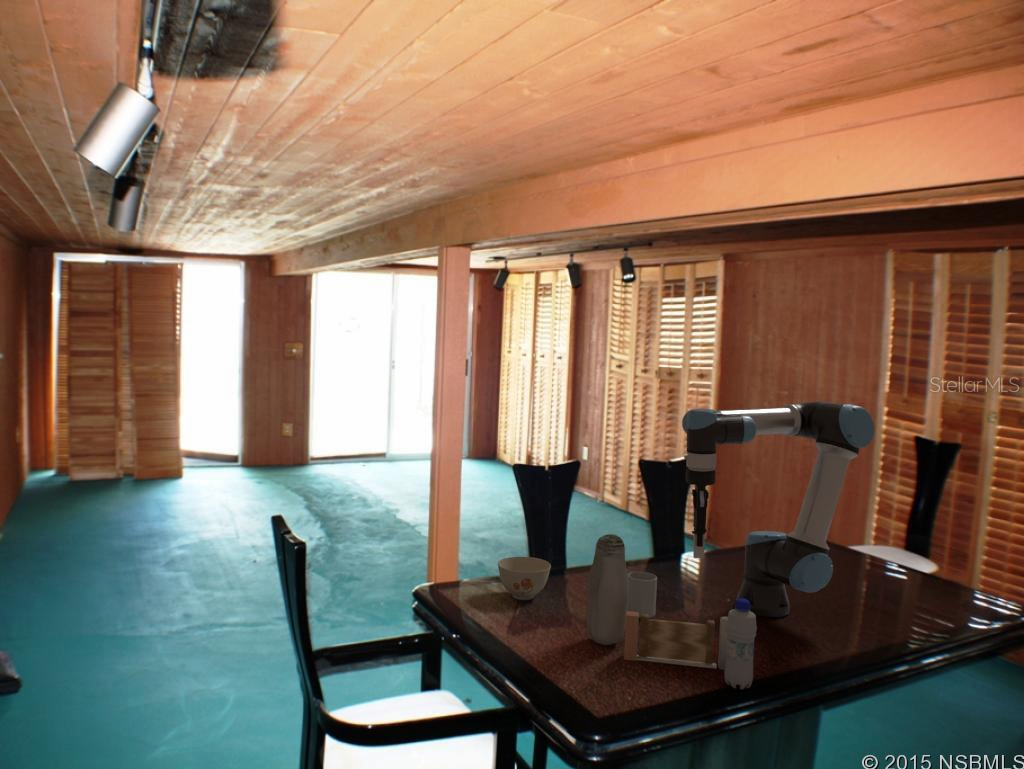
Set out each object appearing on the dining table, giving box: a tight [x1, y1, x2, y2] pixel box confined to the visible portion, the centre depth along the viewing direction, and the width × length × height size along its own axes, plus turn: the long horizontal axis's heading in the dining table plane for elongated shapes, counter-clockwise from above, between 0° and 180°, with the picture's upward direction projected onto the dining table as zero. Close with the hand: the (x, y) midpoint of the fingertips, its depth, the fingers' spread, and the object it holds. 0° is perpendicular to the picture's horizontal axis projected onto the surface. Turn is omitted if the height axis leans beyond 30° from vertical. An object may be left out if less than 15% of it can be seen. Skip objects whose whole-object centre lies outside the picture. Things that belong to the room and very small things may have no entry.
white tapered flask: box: [585, 533, 629, 646], centre depth 194 cm, size 10×10×28 cm
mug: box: [627, 571, 658, 619], centre depth 218 cm, size 12×8×11 cm
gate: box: [638, 614, 716, 664], centre depth 183 cm, size 18×2×10 cm, turn 81°
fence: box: [623, 611, 728, 671], centre depth 183 cm, size 26×3×12 cm, turn 80°
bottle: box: [723, 598, 758, 690], centre depth 172 cm, size 7×7×20 cm
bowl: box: [497, 556, 552, 601], centre depth 227 cm, size 16×16×10 cm
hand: (698, 557), depth 198 cm, fingers closed
